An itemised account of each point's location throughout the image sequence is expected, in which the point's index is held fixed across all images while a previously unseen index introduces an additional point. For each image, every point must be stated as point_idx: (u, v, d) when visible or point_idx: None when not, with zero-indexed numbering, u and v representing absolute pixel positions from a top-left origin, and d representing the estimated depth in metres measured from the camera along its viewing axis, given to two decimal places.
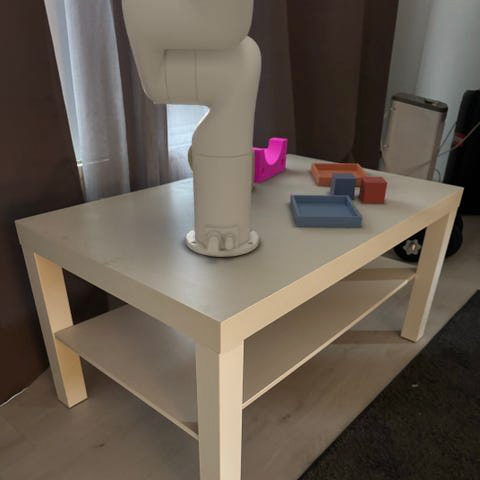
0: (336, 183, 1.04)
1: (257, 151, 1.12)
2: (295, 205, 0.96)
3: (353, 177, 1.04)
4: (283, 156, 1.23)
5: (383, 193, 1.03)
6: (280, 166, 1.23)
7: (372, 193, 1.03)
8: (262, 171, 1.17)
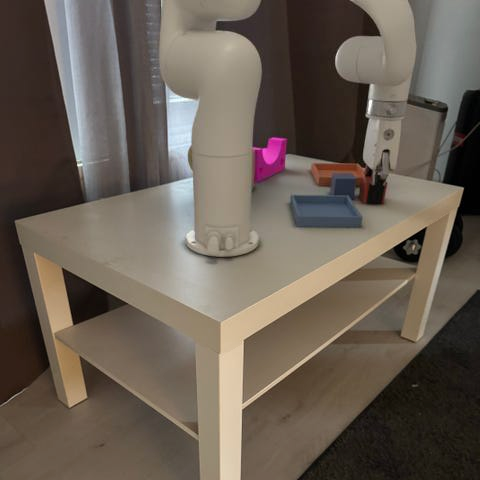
0: (336, 183, 1.04)
1: (255, 150, 1.12)
2: (295, 205, 0.96)
3: (353, 177, 1.04)
4: (282, 156, 1.24)
5: None
6: (279, 166, 1.24)
7: None
8: (260, 171, 1.17)
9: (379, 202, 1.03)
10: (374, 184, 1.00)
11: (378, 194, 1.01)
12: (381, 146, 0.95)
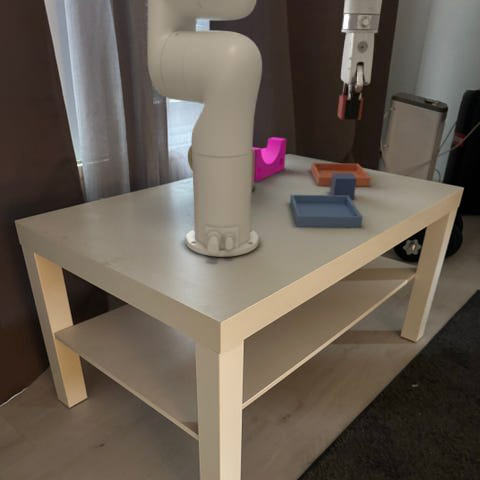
0: (336, 183, 1.04)
1: None
2: (295, 205, 0.96)
3: (353, 177, 1.04)
4: (282, 156, 1.24)
5: None
6: (278, 166, 1.24)
7: None
8: (259, 170, 1.17)
9: (356, 118, 1.09)
10: (350, 98, 1.06)
11: (354, 109, 1.07)
12: (355, 58, 1.01)
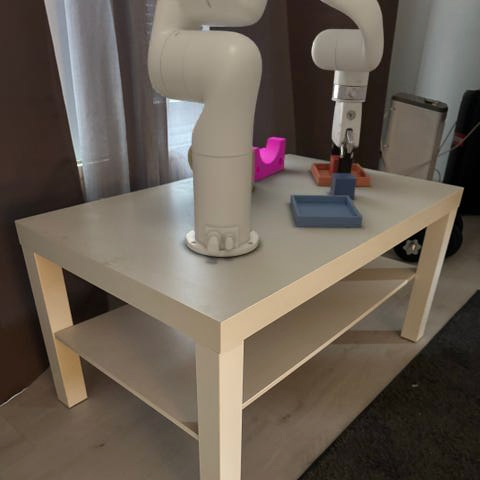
0: (336, 183, 1.04)
1: None
2: (295, 205, 0.96)
3: (353, 177, 1.04)
4: (281, 155, 1.24)
5: None
6: (278, 165, 1.24)
7: None
8: (257, 170, 1.17)
9: None
10: (342, 157, 1.11)
11: (346, 166, 1.13)
12: (345, 125, 1.09)
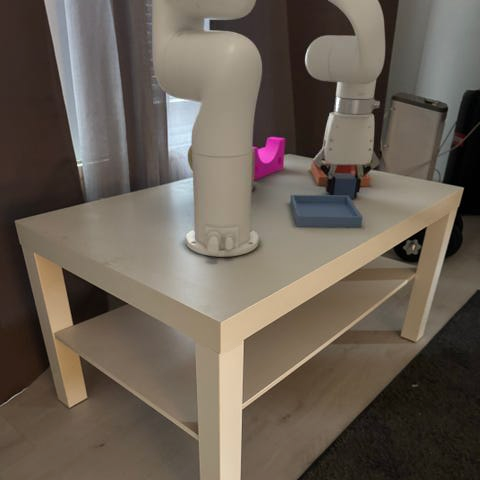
0: (336, 183, 1.04)
1: None
2: (295, 205, 0.96)
3: (353, 177, 1.04)
4: (280, 155, 1.24)
5: (349, 169, 1.17)
6: (277, 165, 1.24)
7: (339, 170, 1.17)
8: (256, 169, 1.18)
9: None
10: None
11: None
12: (373, 139, 1.00)
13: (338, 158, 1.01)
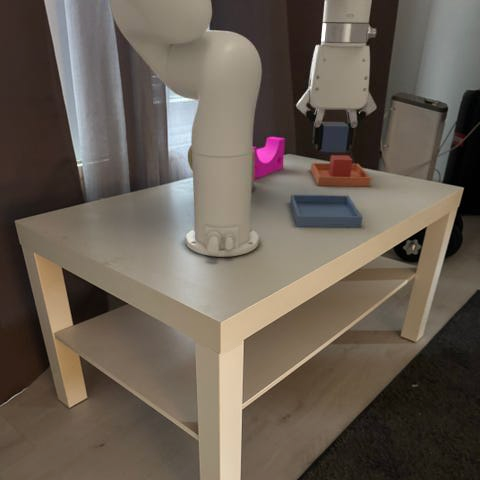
0: (324, 132, 0.87)
1: None
2: (295, 205, 0.96)
3: (345, 125, 0.87)
4: (280, 155, 1.24)
5: (349, 169, 1.17)
6: (276, 165, 1.24)
7: (339, 170, 1.17)
8: (255, 169, 1.18)
9: None
10: None
11: None
12: None
13: (326, 100, 0.84)
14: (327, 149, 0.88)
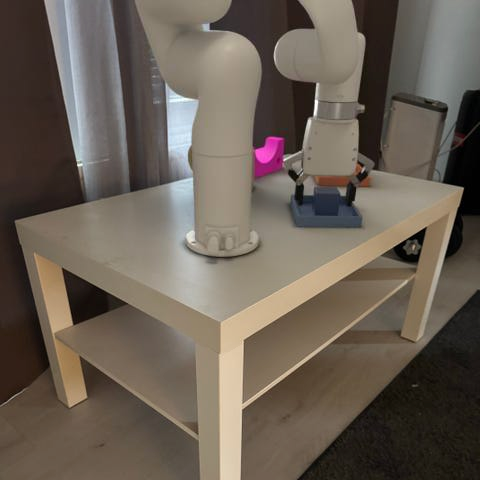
0: (318, 198, 0.93)
1: None
2: (295, 205, 0.96)
3: (337, 192, 0.94)
4: (279, 155, 1.24)
5: None
6: (275, 165, 1.24)
7: None
8: None
9: None
10: None
11: None
12: None
13: (318, 168, 0.90)
14: (320, 213, 0.95)
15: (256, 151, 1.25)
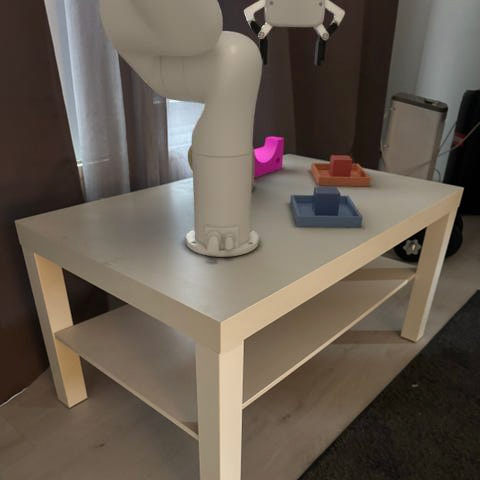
0: (318, 198, 0.93)
1: None
2: (295, 205, 0.96)
3: (337, 192, 0.94)
4: (279, 155, 1.24)
5: (349, 169, 1.17)
6: (275, 165, 1.25)
7: (339, 170, 1.17)
8: None
9: None
10: (327, 37, 0.84)
11: None
12: None
13: (282, 16, 0.81)
14: (320, 213, 0.95)
15: (256, 151, 1.25)
